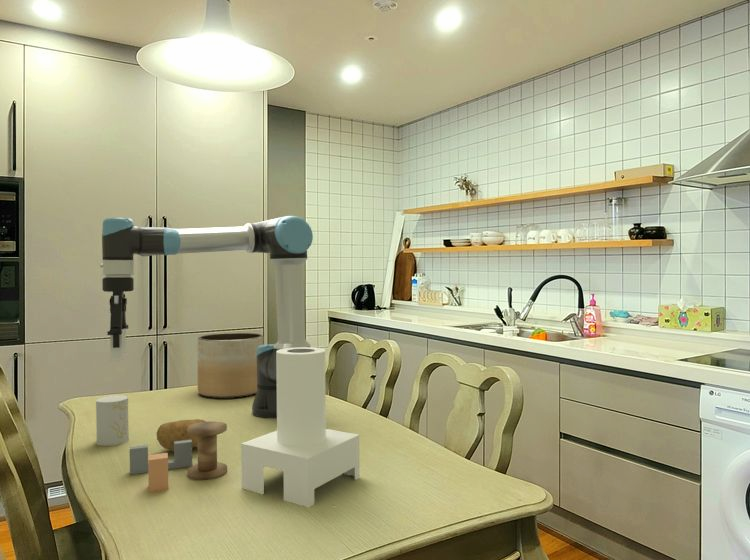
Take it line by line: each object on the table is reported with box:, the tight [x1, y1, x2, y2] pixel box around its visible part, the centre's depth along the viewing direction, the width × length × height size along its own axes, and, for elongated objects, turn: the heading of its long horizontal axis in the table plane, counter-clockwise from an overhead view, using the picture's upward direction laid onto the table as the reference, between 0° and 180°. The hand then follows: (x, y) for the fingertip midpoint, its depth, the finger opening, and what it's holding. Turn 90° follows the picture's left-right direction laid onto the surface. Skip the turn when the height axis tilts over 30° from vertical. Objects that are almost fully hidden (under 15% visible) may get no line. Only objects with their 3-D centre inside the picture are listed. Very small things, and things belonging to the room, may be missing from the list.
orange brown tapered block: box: [147, 452, 169, 493], centre depth 123 cm, size 4×4×7 cm
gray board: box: [129, 440, 193, 476], centre depth 135 cm, size 14×2×6 cm, turn 113°
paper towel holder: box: [240, 346, 361, 508], centre depth 125 cm, size 19×19×30 cm
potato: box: [156, 418, 207, 452], centre depth 149 cm, size 10×14×8 cm
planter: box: [197, 332, 264, 399], centre depth 218 cm, size 25×25×22 cm
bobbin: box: [187, 420, 228, 481], centre depth 132 cm, size 9×9×11 cm
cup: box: [95, 395, 130, 447], centre depth 157 cm, size 8×8×12 cm
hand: (118, 356), depth 148 cm, fingers open, 13 cm apart
